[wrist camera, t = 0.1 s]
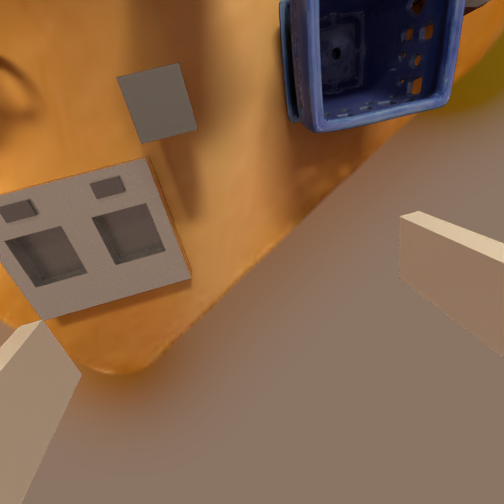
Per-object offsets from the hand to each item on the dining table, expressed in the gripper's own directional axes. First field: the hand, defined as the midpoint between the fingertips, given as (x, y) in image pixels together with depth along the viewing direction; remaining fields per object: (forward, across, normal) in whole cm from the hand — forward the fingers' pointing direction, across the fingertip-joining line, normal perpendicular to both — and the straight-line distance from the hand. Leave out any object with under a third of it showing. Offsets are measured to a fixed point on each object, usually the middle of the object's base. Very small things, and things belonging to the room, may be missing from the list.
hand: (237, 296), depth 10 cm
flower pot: (+28, +17, +9) cm, 34 cm away
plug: (+28, -2, +8) cm, 29 cm away
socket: (+28, -16, -4) cm, 32 cm away
